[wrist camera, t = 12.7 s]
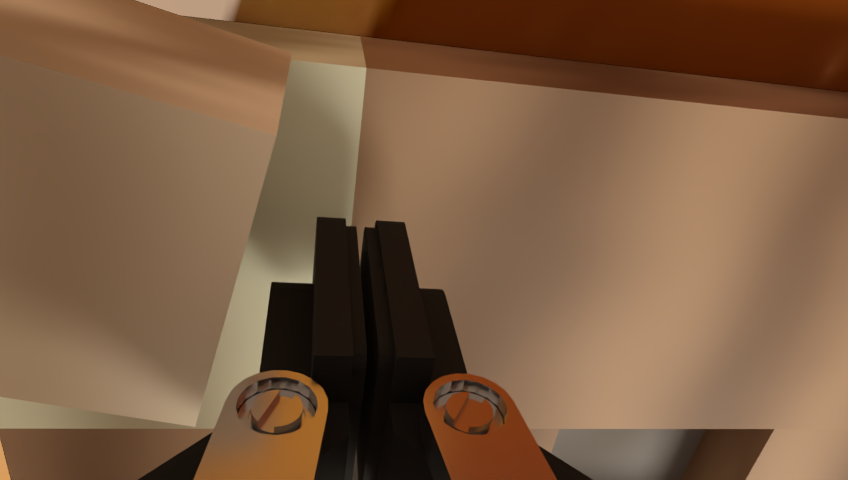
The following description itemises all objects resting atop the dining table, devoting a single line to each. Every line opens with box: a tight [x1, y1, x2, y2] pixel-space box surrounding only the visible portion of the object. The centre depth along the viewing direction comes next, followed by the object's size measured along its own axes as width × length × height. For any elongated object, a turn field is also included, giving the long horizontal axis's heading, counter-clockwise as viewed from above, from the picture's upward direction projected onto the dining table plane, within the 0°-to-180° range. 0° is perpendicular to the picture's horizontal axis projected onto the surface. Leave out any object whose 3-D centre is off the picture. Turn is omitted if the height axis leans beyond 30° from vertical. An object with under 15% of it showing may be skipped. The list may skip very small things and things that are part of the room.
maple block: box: [0, 0, 292, 427], centre depth 10 cm, size 5×5×4 cm
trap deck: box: [0, 16, 848, 480], centre depth 18 cm, size 30×16×2 cm, turn 82°
